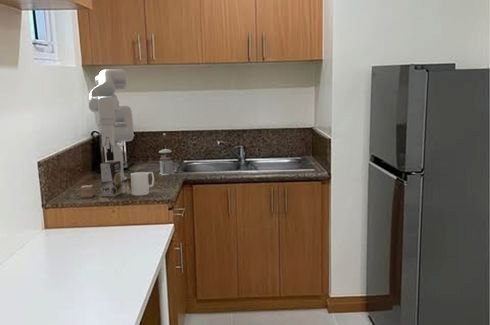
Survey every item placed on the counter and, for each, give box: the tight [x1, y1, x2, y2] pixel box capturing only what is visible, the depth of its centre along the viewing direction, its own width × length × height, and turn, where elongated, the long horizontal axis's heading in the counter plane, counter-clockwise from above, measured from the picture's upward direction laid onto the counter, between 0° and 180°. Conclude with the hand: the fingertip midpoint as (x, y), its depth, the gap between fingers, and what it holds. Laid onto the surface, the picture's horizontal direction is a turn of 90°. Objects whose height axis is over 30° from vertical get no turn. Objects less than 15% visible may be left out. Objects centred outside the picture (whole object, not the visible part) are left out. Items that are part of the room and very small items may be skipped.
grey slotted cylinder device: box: [158, 132, 176, 176], centre depth 286 cm, size 10×12×25 cm
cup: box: [130, 171, 155, 196], centre depth 231 cm, size 8×12×10 cm
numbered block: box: [80, 184, 95, 199], centre depth 228 cm, size 5×5×5 cm
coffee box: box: [100, 161, 123, 197], centre depth 229 cm, size 9×6×16 cm
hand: (110, 160), depth 228 cm, fingers closed
